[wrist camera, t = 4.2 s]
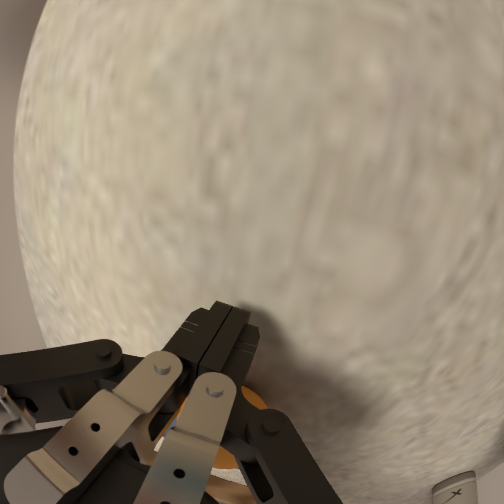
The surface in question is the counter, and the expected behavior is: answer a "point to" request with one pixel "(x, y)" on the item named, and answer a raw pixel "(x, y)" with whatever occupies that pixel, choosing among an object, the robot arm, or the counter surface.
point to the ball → (223, 456)
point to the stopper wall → (224, 489)
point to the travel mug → (457, 490)
